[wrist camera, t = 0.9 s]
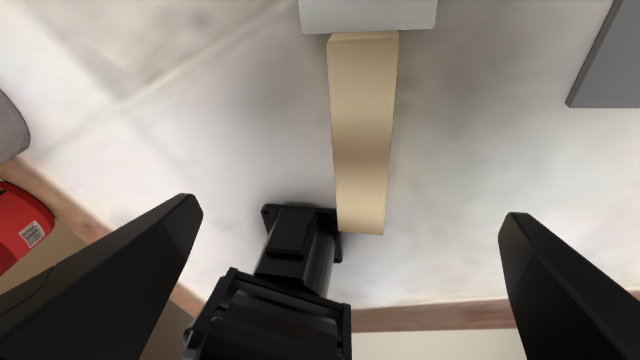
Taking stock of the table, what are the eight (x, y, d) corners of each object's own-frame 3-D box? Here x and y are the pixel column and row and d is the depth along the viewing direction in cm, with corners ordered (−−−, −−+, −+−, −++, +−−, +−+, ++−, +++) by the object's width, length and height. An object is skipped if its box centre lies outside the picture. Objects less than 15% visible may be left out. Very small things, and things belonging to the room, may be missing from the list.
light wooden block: (404, 205, 21) (406, 237, 19) (324, 199, 22) (316, 229, 20) (466, -226, 9) (491, -280, 7) (285, -189, 10) (255, -224, 8)
